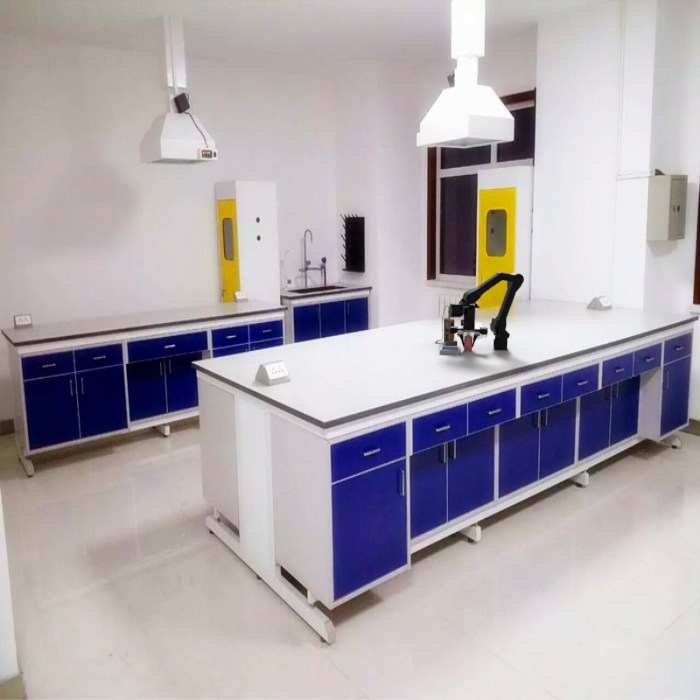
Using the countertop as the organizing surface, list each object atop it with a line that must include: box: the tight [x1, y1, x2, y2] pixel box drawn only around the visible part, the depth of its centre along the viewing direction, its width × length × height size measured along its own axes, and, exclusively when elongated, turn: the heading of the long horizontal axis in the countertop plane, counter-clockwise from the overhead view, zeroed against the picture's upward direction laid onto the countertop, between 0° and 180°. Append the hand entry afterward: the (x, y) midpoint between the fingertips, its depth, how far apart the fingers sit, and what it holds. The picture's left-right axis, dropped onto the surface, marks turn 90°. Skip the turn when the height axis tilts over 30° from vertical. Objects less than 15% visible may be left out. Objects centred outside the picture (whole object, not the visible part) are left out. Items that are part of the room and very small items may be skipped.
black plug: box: [442, 340, 458, 346], centre depth 328 cm, size 7×4×4 cm
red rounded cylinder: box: [463, 332, 473, 352], centre depth 319 cm, size 4×4×9 cm
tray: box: [439, 345, 462, 356], centre depth 317 cm, size 10×10×2 cm
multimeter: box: [435, 304, 457, 345], centre depth 335 cm, size 15×10×20 cm
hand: (468, 347), depth 320 cm, fingers closed on red rounded cylinder, 4 cm apart
